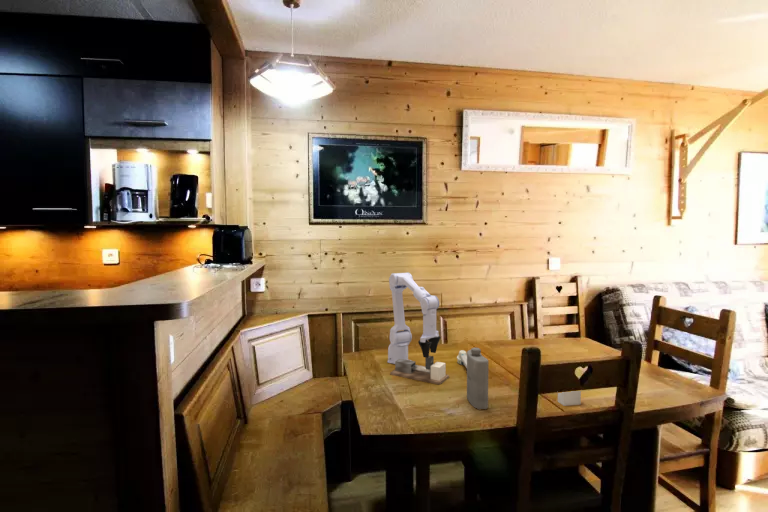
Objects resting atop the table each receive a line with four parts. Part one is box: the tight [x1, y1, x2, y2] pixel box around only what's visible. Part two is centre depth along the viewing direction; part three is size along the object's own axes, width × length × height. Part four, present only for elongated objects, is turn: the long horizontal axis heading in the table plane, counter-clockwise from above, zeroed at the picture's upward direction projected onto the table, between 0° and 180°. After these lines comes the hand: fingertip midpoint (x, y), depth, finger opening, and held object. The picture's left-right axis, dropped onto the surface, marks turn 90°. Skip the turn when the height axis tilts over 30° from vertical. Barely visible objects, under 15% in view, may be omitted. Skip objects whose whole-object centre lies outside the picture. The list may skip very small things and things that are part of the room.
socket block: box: [431, 361, 447, 381], centre depth 169 cm, size 4×7×6 cm, turn 149°
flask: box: [466, 347, 489, 410], centre depth 146 cm, size 15×6×20 cm, turn 2°
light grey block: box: [557, 390, 582, 407], centre depth 145 cm, size 4×7×10 cm, turn 99°
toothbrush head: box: [456, 349, 467, 369], centre depth 181 cm, size 5×7×25 cm
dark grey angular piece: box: [412, 355, 435, 374], centre depth 172 cm, size 14×3×8 cm, turn 59°
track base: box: [389, 359, 450, 386], centre depth 174 cm, size 24×10×5 cm, turn 59°
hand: (429, 354), depth 171 cm, fingers open, 7 cm apart
